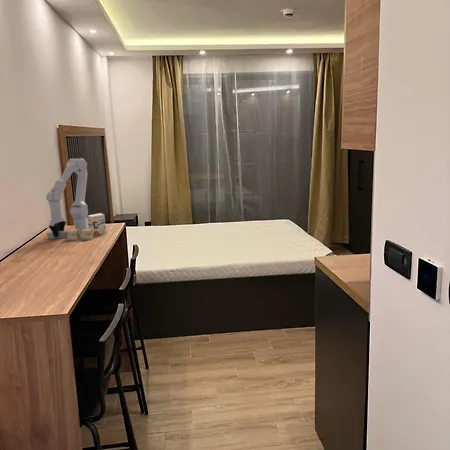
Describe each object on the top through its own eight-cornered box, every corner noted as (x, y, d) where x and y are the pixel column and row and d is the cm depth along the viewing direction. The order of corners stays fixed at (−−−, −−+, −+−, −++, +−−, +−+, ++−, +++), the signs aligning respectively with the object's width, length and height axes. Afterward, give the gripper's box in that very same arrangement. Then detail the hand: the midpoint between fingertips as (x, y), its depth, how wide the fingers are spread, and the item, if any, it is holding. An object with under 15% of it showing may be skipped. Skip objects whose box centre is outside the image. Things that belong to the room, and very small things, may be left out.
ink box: (93, 236, 249) (91, 216, 247) (89, 235, 253) (87, 215, 250) (106, 233, 255) (104, 213, 252) (102, 232, 258) (100, 213, 256)
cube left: (71, 238, 246) (70, 229, 245) (80, 237, 246) (79, 229, 245) (68, 240, 241) (67, 231, 240) (77, 239, 241) (76, 231, 240)
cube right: (85, 237, 245) (84, 228, 244) (94, 237, 245) (93, 228, 244) (82, 239, 241) (81, 230, 240) (91, 239, 240) (90, 230, 239)
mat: (72, 237, 249) (72, 236, 249) (97, 236, 249) (97, 235, 249) (64, 242, 239) (64, 241, 238) (91, 240, 238) (91, 240, 238)
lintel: (47, 239, 248) (46, 232, 247) (50, 238, 252) (49, 231, 251) (68, 238, 247) (67, 232, 247) (71, 237, 251) (70, 230, 251)
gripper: (54, 210, 254) (57, 233, 256) (43, 215, 239) (46, 238, 242) (66, 209, 253) (69, 232, 256) (56, 214, 239) (59, 238, 242)
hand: (59, 235), depth 249 cm, fingers open, 7 cm apart
